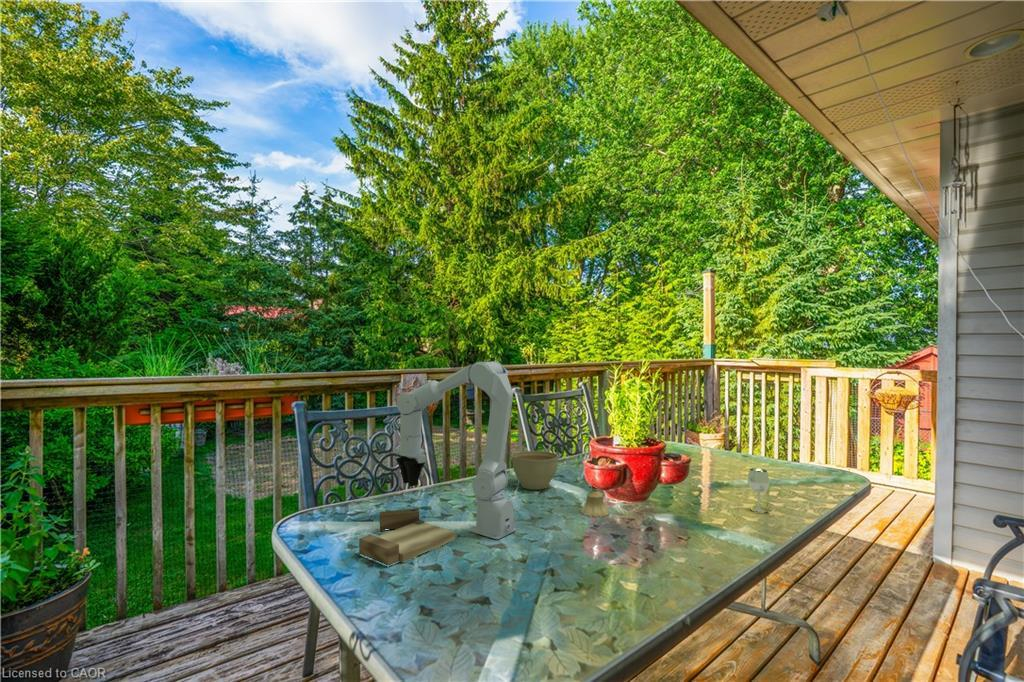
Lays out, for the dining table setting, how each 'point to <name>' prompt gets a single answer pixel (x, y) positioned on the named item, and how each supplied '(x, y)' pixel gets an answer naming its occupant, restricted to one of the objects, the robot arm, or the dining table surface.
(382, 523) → the folding leg
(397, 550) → the stool top
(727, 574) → the dining table surface
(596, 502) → the hand bell
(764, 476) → the wineglass
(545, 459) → the planter bowl
